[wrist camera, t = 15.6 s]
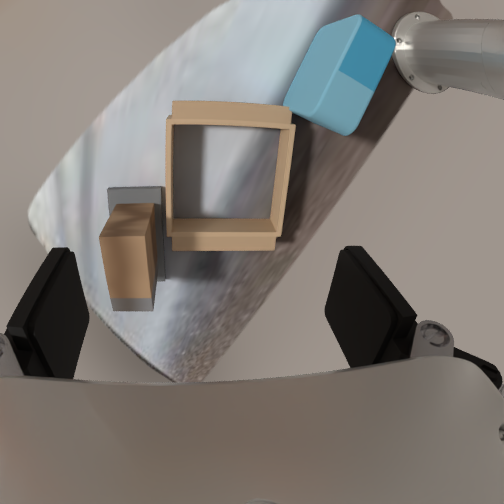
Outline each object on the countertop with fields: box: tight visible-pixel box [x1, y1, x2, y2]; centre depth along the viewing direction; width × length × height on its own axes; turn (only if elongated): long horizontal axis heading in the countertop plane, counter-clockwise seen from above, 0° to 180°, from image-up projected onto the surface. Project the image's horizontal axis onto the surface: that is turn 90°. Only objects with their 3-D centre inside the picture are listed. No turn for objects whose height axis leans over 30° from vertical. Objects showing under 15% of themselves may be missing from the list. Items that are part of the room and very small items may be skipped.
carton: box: [166, 101, 296, 251], centre depth 38 cm, size 14×18×4 cm
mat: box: [107, 186, 165, 281], centre depth 42 cm, size 7×14×1 cm, turn 175°
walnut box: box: [99, 203, 159, 311], centre depth 38 cm, size 5×10×9 cm, turn 175°
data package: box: [283, 15, 396, 136], centre depth 30 cm, size 12×4×12 cm, turn 156°
